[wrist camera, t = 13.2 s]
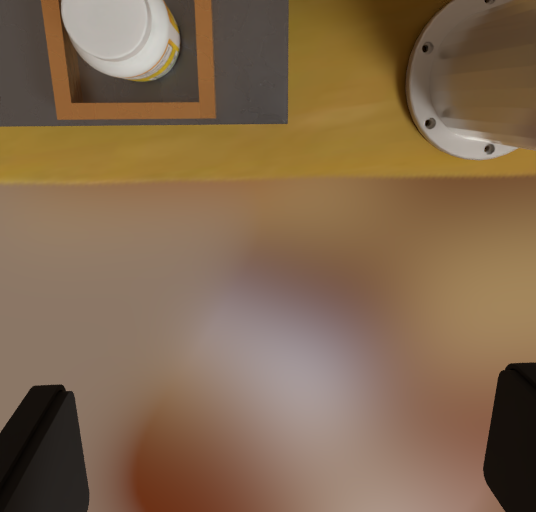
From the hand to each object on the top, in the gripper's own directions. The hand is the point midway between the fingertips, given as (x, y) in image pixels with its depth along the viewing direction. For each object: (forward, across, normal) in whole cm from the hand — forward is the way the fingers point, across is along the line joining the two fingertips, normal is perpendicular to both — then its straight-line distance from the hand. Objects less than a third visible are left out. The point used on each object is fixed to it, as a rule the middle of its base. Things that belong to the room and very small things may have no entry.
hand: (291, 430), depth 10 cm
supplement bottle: (+26, +7, -11) cm, 29 cm away
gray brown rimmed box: (+30, +9, -11) cm, 33 cm away
